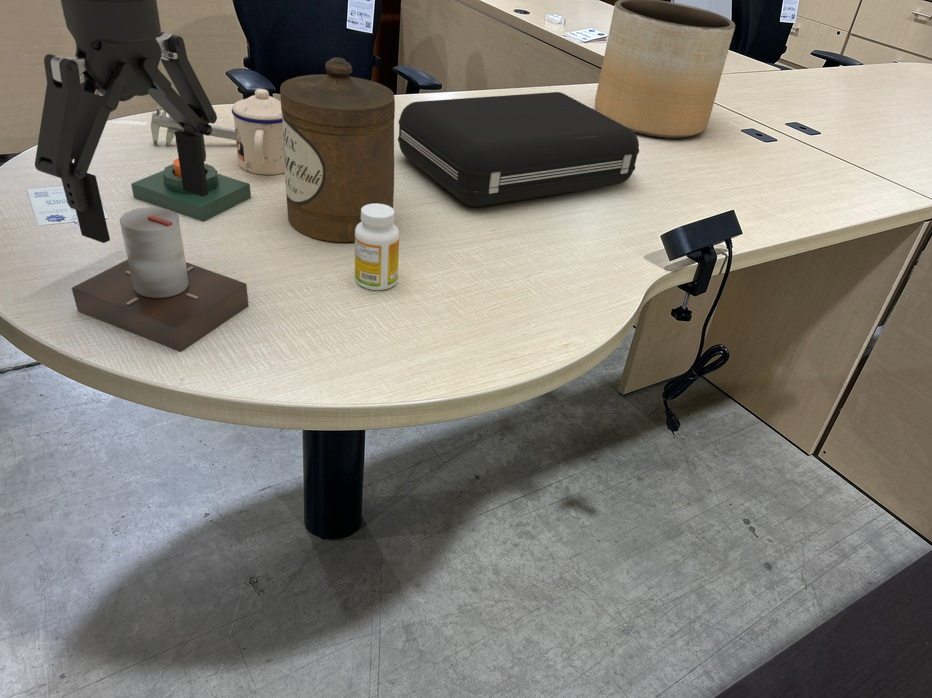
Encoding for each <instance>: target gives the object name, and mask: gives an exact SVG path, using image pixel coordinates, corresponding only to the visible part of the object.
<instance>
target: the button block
mask: <svg viewBox="0 0 932 698" xmlns="http://www.w3.org/2000/svg"><path fill="white" fill-rule="evenodd" d="M204 164H205V172H206V182H207V189H208V195H206V196H204V197H202V196H199V195H196V194H193V193H190V192H187V191H184V190H183V184H182V178H181V177H178V176H176V175H175V171H174V165H173V163H172V164H170V165H167V166H165V167H164V169H163V170H161V171H158V172H156V173H153V174H151V175H149V176H147V177H144V178H141V179H139V180H136V181H134V182H131V183H130V185H131V191H132V195H133V198H134V199H136V200H139V201H142V202H143V203H144V202H145V203H147V204H150V205H154V206H155V207H158V208H164V209H168V210H171V211H173V212H175V213H176V214H179V215H183V216H186V217H188V218H192V219H194V220H197V221H200V222H206V221H208V220H210V219H212V218H214V217H215V216H216V217H217V215H220V214H221V213H224V212H225V211H228V210H230V209H231V208H234V207H235V206H237V205H240V204H242V203H244V202H246V201H247V200H249V199H251V198H252V193H251V184H250V183H248V182H245V181H242V180H240V179H236V178H232V177H229V176H226V175H223V174H220V173H218V170H217V169H216V168H215V167H214V166H213V165H210V164H208V163H204Z"/></svg>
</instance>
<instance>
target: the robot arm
mask: <svg viewBox="0 0 932 698" xmlns="http://www.w3.org/2000/svg"><path fill="white" fill-rule="evenodd" d="M60 3H61V8H62V12H63V16H64V22H65V26H66V28H67V30H68V31H69V32H70V34H71V36H72V38H73V39H74V42H75V54H74V56H60V55H56V54H52V53H48V54H46V55H45V56H44V58H43V64H44V71H45V72H44V73H45V77H46V86H45V87H46V88H45V94H44V101H43V106H42V113H41V119H40V127H39V133H38V140H37V146H36V153H35V160H34V167H35V169H36V170H37V171H38V172H42V173H44V174H47V175H50V176H53V177H56V178H58V179H60V180H61V183H62V187H63V191H64V194H65V198H66V204H67V205H68V206H69V208H70V209H73V210H75V213H76V217H77V222H78V226H79V229H80V233H81V236H82V237H85V238H88V239H90V240H94V241H96V242H99V243H102V244H105V243H108V242H110V241H111V238H110V234H109V228H108V225H107V220H106V216H105V211H104V207H103V203H102V197H101V193H100V189H99V184H98V180H97V176H96V175H95V174H92V173H89V171H88V170H89V168H90V166H91V163H92V161H93V158H94V155H95V153H96V150H97V149H98V145H99V142H100V140H101V137H102V136H103V135H102V134H103V132H104V130H105V127H106V124H107V122H108V119H109V117H110V114H111V113H112V112H114V111H116V110H117V108H118V106H119V103H120V102H126V101H130V100H131V99H133V98H134V97H135V96H136V97H137V96H138V97H144V96H147V95H149V96H150V97H151V98H152V99H153V100H154V101H155V103H156V104H158V105H159V107H161V109H162V110H165V111H166V114H167V115H168V117H169V116H170V117H171V118H172V119H173V120H174V121H175V122H176V123H177V124H178V125H179V126H180V127H181V128H183V129H184V131H181V130H179V131H176V132H175V135H174V139H175V143H176V149H177V156H178V157H177V158H179V164H180V171H181V177H182V184H183V190H184V191H187V192H190V193H193V194H196V195H199V196H202V197H204V196H206V195H208V189H207V182H206V174H205V166H204V164H205V162H206V161H207V151H206V145H205V136H207V137H209V135H210V134H211V132H212V127H211V125H214V124H215V123H216V122H217V119H218V115H217V113H216V110H215V109H214V107H213V104H212V103H211V101H210V99H209V97H208V96H207V93H206V92H205V89H204V88H203V86H202V84H201V82H200V80H199V78H198V75H197V74H196V72H195V70H194V68H193V67H192V64H191V62H190V61H189V57H188V53H187V49H186V45H185V41H184V39H183V37H182V36H180V35H177V34H173V33H169V32H165V31H162V28H161V27H162V26H161V22H160V21H161V20H160V14H159V8H158V2H157V0H60ZM160 63H161V64H162V66H163V68H164V70H165V71H166V73H167V75H168V77H169V78H167V77H166V75H165V74H164V73H163V72H162V71H161V70H160V69H159V65H160ZM169 79H170V80H171V81H170V80H169ZM172 85H173V86H174V87H175V89H174V88H173V87H172ZM96 91H97V92H98V93H99V94H96ZM100 94H101V95H100Z"/></svg>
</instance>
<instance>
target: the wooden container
mask: <svg viewBox="0 0 932 698" xmlns="http://www.w3.org/2000/svg"><path fill="white" fill-rule="evenodd" d="M324 66H325V68H324V69H325V72H326V74H307V75H300V76H295V77H293V78H289V79H286V80H285V81H283V82H282V83H281V85H280V89H279V95H280V96H279V97H280V101H281V110H282V120H283V141H284V168H285V173H284V183H285V194H286V208H287V210H286V211H287V217H288V218H287V220H288V222H289V224H290V226H291V227H293V228H294V229H295V230H296V231H298V232H299V233H301V234H303V235H305V236H307V237H309V238H314V239H316V240H322V241H326V242H334V243H335V242H336V243H353V242H354V243H355V228H356V226H357V225H358V224H359V223H360V222H362V221H361V208H362V207H363V206H365V205H368V204H384V205H388V206H390V207H391V208H393V209H394V197H395V195H394V194H395V115H396V114H395V113H396V102H395V94H394V92H393V90H392V89H390V88H389V87H387V86H386V85H383V84H381V83H379V82H376V81H373V80H369V79H366V78H360V77H355V76H351V75H352V72H353V67H352V64H351V63H350V62H348V61H346V59H345V58H343V57H336V56H335V57H332V58H330V59H329V60H328V61H326V62H325V65H324Z"/></svg>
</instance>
